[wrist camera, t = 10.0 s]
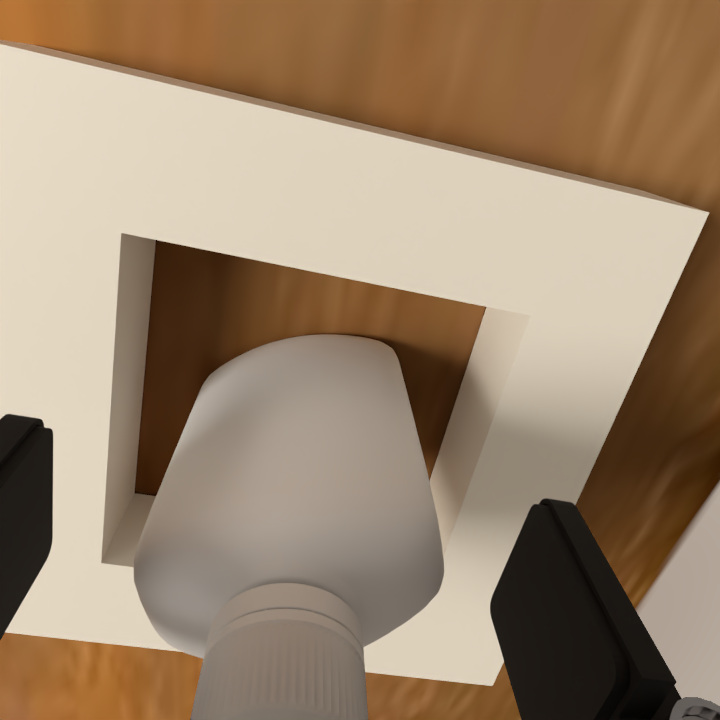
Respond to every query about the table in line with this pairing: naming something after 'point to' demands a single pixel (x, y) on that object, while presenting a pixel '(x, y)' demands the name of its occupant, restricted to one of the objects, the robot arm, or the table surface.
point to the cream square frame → (322, 255)
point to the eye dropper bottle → (291, 529)
